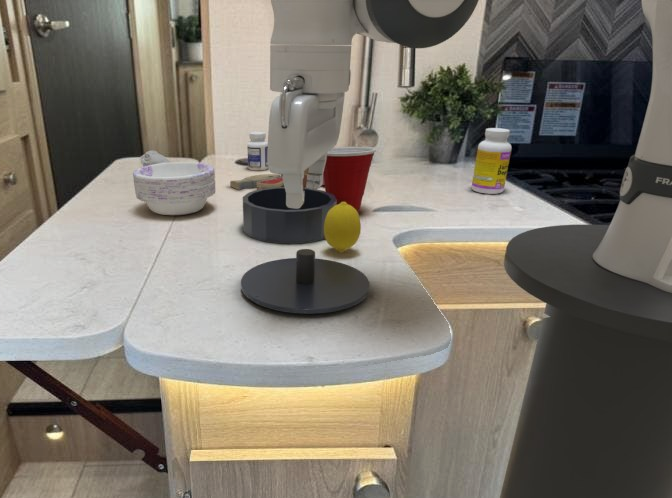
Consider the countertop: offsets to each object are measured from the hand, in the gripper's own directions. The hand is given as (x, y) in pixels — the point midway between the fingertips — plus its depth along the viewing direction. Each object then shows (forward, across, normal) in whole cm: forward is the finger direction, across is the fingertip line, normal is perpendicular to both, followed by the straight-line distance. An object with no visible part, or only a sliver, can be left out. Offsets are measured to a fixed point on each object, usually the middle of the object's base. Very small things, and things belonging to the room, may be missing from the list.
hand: (305, 196), depth 66 cm
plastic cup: (+12, +37, +2) cm, 39 cm away
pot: (+12, +24, +9) cm, 28 cm away
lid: (+12, 0, 0) cm, 12 cm away
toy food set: (+12, +56, +17) cm, 60 cm away
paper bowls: (+13, +29, +33) cm, 46 cm away
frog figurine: (+13, +49, +48) cm, 70 cm away
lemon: (+12, +15, -2) cm, 20 cm away
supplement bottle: (+12, +62, -25) cm, 68 cm away
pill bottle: (+13, +69, +30) cm, 76 cm away
